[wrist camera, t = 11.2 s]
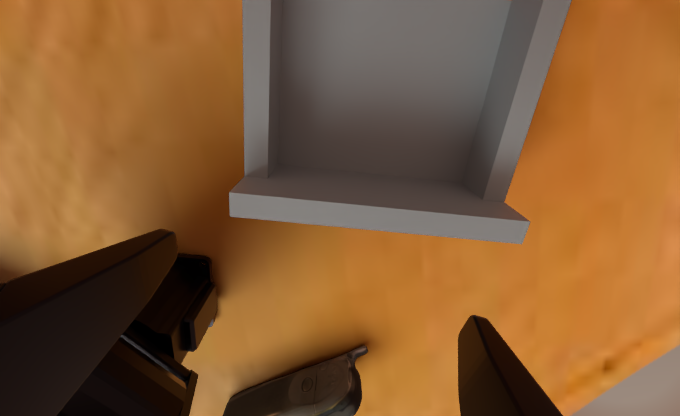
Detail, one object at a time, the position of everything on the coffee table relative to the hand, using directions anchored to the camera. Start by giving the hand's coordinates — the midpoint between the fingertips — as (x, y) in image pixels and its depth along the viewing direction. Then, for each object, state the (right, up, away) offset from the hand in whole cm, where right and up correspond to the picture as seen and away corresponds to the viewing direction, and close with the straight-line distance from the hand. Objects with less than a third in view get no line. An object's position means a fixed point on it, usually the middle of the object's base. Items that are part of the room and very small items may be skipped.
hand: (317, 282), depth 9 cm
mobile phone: (-3, -13, +20) cm, 24 cm away
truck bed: (+4, +13, +8) cm, 16 cm away
